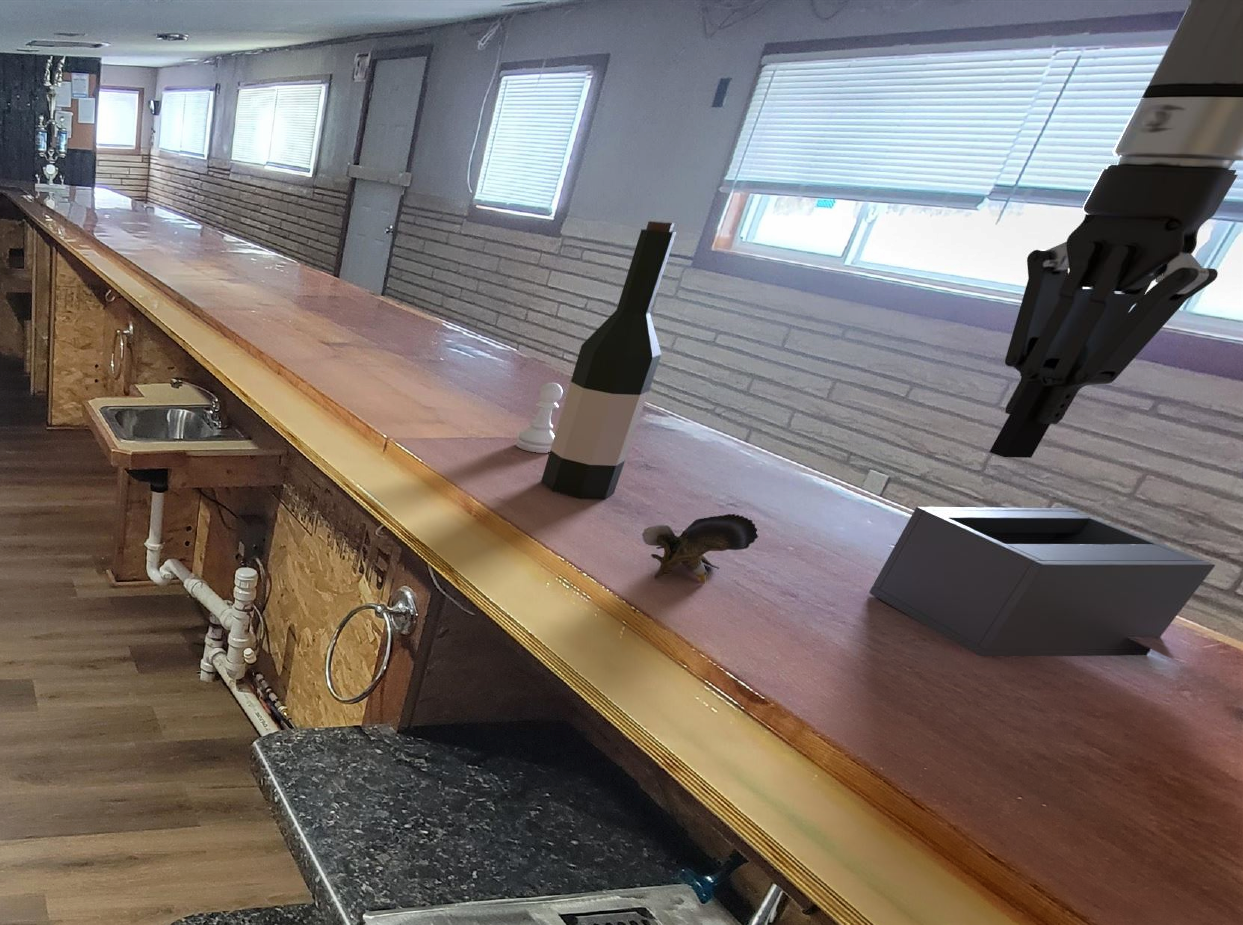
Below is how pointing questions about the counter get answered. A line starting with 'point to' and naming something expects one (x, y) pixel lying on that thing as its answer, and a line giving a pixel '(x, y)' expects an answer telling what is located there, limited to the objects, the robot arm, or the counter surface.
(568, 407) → the wine bottle
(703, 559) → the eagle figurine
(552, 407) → the chess pawn
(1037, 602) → the grey cardboard box
